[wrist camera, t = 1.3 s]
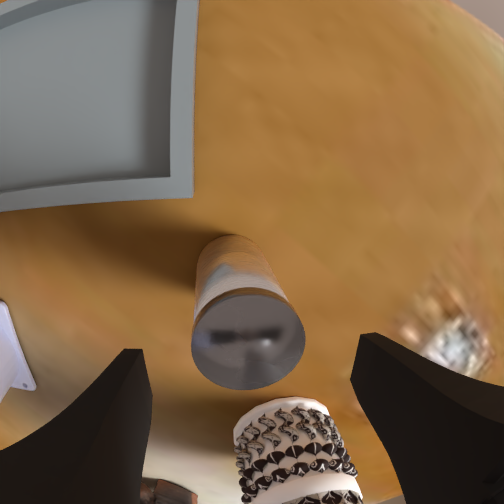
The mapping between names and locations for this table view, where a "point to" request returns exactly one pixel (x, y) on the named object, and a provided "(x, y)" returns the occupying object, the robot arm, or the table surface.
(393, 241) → the table surface
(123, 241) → the table surface
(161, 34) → the tray
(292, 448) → the decorative candle
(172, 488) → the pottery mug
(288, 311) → the shaker
